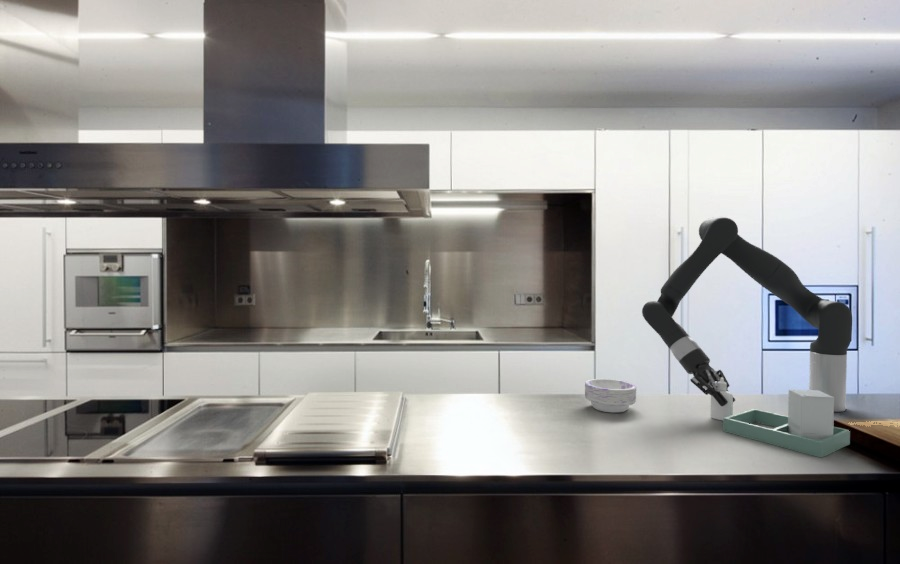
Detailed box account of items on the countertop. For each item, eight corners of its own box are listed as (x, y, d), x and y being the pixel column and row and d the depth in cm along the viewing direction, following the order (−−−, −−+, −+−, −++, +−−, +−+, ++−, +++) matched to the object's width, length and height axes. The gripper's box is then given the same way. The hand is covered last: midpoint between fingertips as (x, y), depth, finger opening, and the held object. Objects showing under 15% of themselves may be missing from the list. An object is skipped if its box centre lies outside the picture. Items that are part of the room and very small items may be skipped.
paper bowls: (646, 410, 159) (646, 384, 158) (614, 419, 150) (614, 391, 150) (606, 399, 171) (606, 375, 171) (574, 407, 163) (574, 381, 162)
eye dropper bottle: (721, 415, 153) (722, 375, 152) (734, 421, 147) (735, 379, 147) (708, 416, 152) (708, 375, 152) (720, 422, 147) (721, 380, 146)
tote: (753, 420, 148) (753, 408, 148) (849, 444, 129) (850, 430, 129) (723, 430, 139) (723, 418, 139) (821, 457, 120) (821, 442, 120)
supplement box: (834, 449, 125) (835, 397, 124) (799, 447, 126) (801, 395, 126) (818, 439, 132) (820, 389, 132) (786, 437, 134) (787, 388, 133)
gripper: (684, 349, 151) (724, 400, 142) (711, 345, 159) (751, 392, 149) (667, 364, 156) (705, 414, 146) (694, 359, 164) (732, 406, 154)
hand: (728, 403), depth 148 cm, fingers closed on eye dropper bottle, 3 cm apart
